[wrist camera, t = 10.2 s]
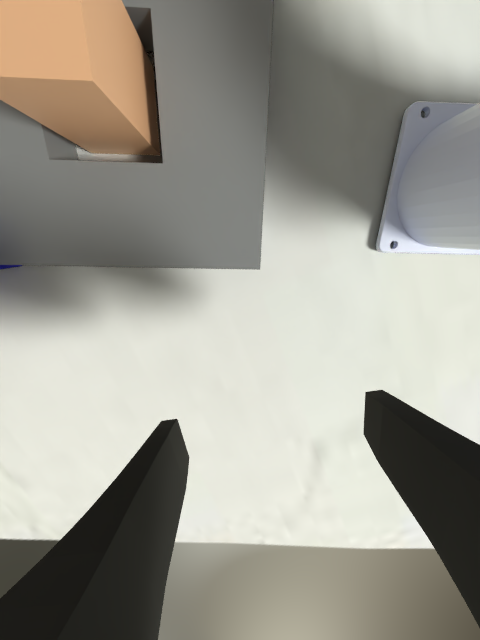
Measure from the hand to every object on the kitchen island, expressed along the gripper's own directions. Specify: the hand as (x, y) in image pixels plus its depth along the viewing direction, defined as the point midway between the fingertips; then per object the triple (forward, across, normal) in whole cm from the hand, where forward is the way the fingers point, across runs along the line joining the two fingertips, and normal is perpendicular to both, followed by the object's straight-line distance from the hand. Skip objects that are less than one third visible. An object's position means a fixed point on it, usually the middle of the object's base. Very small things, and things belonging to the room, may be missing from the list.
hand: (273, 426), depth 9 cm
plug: (+9, +6, -14) cm, 18 cm away
